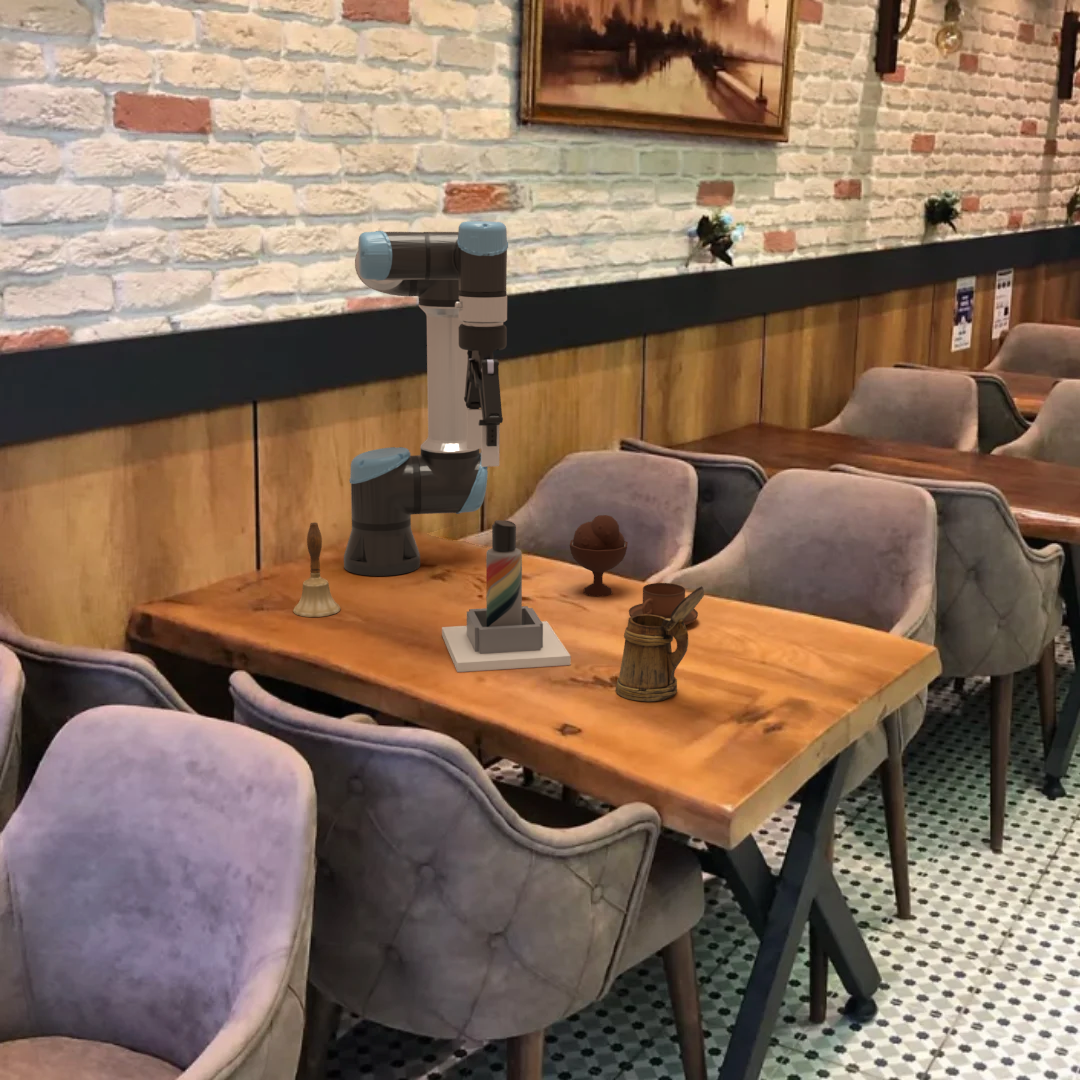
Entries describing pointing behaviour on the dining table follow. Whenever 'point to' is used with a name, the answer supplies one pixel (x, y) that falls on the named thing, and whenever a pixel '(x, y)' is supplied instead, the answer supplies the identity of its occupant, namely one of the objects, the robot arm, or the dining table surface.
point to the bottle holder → (504, 644)
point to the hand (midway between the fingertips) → (482, 457)
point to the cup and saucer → (662, 601)
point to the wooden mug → (654, 653)
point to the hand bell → (315, 583)
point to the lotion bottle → (503, 577)
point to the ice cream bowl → (598, 550)
